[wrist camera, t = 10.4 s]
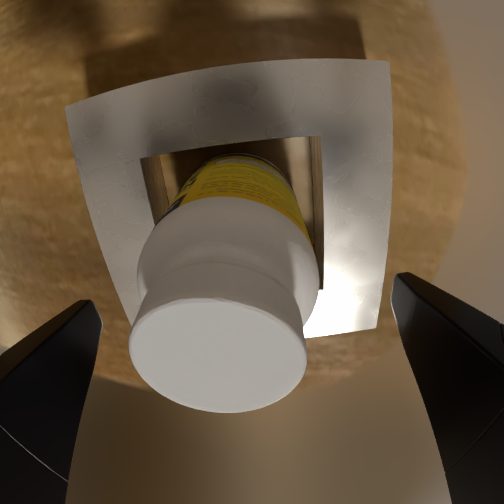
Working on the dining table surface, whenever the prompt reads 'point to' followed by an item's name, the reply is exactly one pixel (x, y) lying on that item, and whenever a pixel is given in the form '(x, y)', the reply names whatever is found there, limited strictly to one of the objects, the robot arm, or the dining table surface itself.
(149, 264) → the supplement bottle
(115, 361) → the dining table surface
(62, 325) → the robot arm
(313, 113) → the frame
